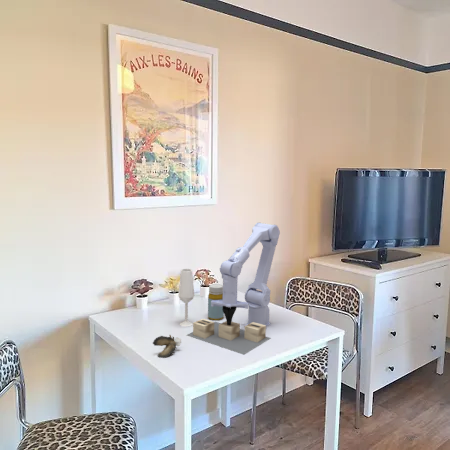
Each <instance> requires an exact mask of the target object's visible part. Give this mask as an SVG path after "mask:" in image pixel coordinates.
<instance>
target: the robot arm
mask: <svg viewBox="0 0 450 450" xmlns="http://www.w3.org/2000/svg"><path fill="white" fill-rule="evenodd" d="M280 234H281V232H280V229H279V226H278V225H277V224H269V223H264V222H263V223H261V222H256V223H255V224H254V226H252V228H251V234H250V235H249V237H248V238H247V240H246V241H245V242H244V244H243V246H241V247H237V248H236V249H235V251H234V252H233V253H232V255H231V256H230V257H229V259H227V260H224V261H222V263H221V265H220V267H219V271H220V272H219V273H220V274H221V279H222V285H223V300H212V301H211V306H213V307H214V306H221V307H223V309H222V310H223V313H224V318H225V319H226V320H225V321H227V325H231V322H233V318H234V317H233V316H234V315H235V313H236V311H237V308H238V309H239V308H241V309H244V310H247V309H248V317H247V322H246V323H245V324H244V325H243V326H244V327H245V326H246V325H248V324H250V323H252V322H255V323H259V324H262V325H266V327H268V326H269V325H272V323H271V322H270V307H269V304H270V302H271V301H270V300H271V289H270V288H269V287H268V285H267V283H268V281H269V276H270V272H271V267H272V265H273V264H272V263H273V260H274V256H275V251H276V248H277V246H278V241H279V237H280ZM259 243H261V245H262V250H261V254H260V258H259V262H258V265H257V269H256V273H255V277H254V281H253V282H251V283H250V284H248V287H247V289H246V291H245V293H244V300H245V301H239V300H238V279H239V278H238V277H239V275H241V273H242V269H243V265H244V264H245V263H246V262H247V260H249V258H250V252H251V251H252V250H253V249H254V248H255V247H256V246H257V245H258V244H259Z"/></svg>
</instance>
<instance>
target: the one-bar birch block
mask: <svg viewBox="0 0 450 450" xmlns="http://www.w3.org/2000/svg"><path fill="white" fill-rule="evenodd" d="M244 330H245V337H244V339H248V340H251V341H254V342H259V341H261V340H262V339H264V338H266V337H267V336H266V335H267V334H266V332H267V326H266V325H262V324H259V323H255V322H252V323H250V324H248V325H246V326H244Z"/></svg>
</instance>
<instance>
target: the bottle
mask: <svg viewBox="0 0 450 450" xmlns="http://www.w3.org/2000/svg"><path fill="white" fill-rule="evenodd" d="M212 300H223V284H219V283H213V284H209V286H208V295H207V318H208V320H209V321H222V320H223V319H224V318H225V315H224V313H223V310H222V309H223V307H221V306H214V307H213V306H211V301H212Z"/></svg>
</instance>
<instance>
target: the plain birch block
mask: <svg viewBox="0 0 450 450" xmlns="http://www.w3.org/2000/svg"><path fill="white" fill-rule="evenodd" d="M220 323H221V324H219V337H221V338H224V339H227V340H233V339H235V338H236V337H238V336H240V329H241V324H240V323H239V322H236V321H235V322H234V321H232V322H231V325H227V320H225V321H223V322H220Z"/></svg>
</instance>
